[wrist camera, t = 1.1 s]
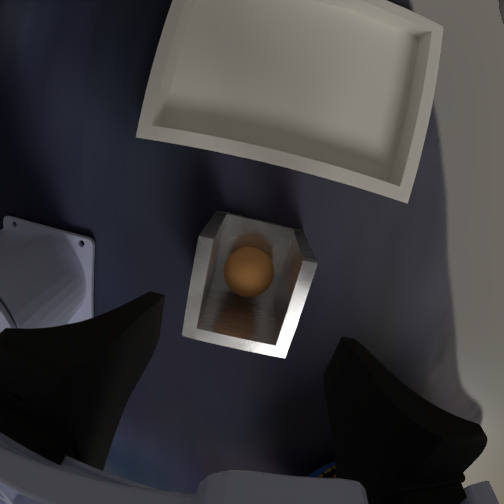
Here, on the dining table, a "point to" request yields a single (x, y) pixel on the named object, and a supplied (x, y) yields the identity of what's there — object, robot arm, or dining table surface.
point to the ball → (248, 271)
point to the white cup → (502, 9)
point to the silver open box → (248, 308)
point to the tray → (298, 86)
